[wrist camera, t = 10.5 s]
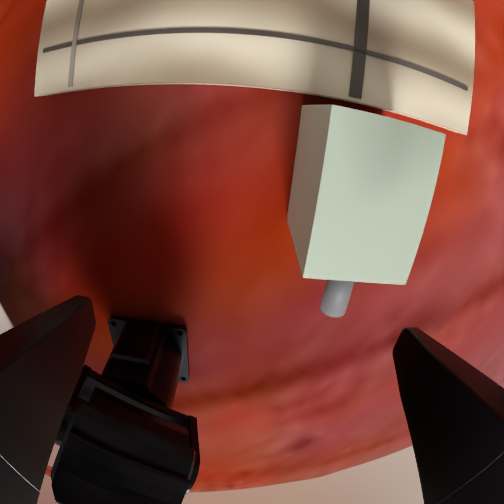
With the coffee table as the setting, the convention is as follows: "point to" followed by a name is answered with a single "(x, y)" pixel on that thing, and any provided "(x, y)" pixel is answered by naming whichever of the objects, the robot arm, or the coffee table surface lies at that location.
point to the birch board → (271, 49)
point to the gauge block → (359, 198)
